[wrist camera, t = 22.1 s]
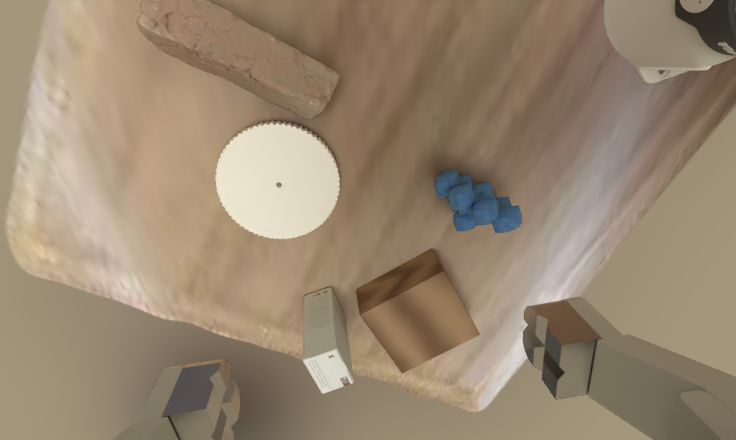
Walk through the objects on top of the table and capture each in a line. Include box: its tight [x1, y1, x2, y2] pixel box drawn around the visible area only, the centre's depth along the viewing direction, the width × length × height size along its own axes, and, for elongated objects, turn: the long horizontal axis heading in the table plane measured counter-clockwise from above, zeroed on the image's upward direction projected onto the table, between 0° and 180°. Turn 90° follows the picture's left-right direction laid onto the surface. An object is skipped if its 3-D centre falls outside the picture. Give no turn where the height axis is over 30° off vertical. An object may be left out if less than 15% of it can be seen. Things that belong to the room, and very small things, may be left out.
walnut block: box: [356, 249, 480, 373], centre depth 53 cm, size 12×12×6 cm
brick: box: [136, 0, 340, 119], centre depth 36 cm, size 16×8×5 cm
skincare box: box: [303, 287, 354, 394], centre depth 49 cm, size 6×4×12 cm
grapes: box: [435, 169, 522, 233], centre depth 44 cm, size 12×7×12 cm, turn 62°
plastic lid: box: [215, 121, 340, 239], centre depth 46 cm, size 14×14×2 cm
